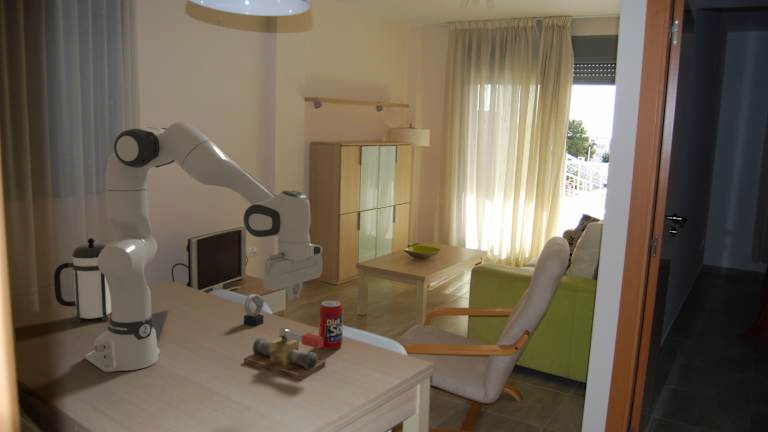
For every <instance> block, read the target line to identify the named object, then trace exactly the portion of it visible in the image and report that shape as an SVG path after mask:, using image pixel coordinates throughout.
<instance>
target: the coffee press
mask: <svg viewBox="0 0 768 432" xmlns="http://www.w3.org/2000/svg"><path fill="white" fill-rule="evenodd" d="M106 245H107V244H102V243H95V239H94V238H93V237H92V238H91V237H90V238H88V239H87V243H86V244H81V245H78V246H76V247H75V248H74V249H73V251H72V253H71V257H72V262H64V263H61V264H59V265H58V266H57V267H56V269H55V271H54V276H53V277H54V280H53V281H54V295H55V300H56V302H57V303H58V304H60V305H61V306H63V307H74V308H75V314H76V316H75V317H74V319H73V322H74V323H76V324H80V323H81V321H83V320H84V319H88V320H89V319H99V318H100V319H101V320H102V322H103V323H105V322H106V321H108V320H110V319H107V318H109V316H108V315H110V314H111V299H110V291H109V287H108V284H107V281H106V278H105V275H104V274H103V273H102V272H101V271H100V269H99V267H98V256H99V254H100V253H101V251H102V250H103V249H104V247H105V246H106ZM69 268H72V270H73V281H74V282H73V283H74V301H73V300H72V301H68V300H65V299H64V298H63V296H62V286H61V285H62V283H61V273H62V270H65V269H69ZM106 323H107V322H106Z"/></svg>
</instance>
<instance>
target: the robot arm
mask: <svg viewBox="0 0 768 432" xmlns="http://www.w3.org/2000/svg"><path fill="white" fill-rule="evenodd" d="M113 149H114V152H113V153H112V154H110V155H109V156H108V159H107V164H106V169H105V198H106V199H105V200H106V216H107V218H108V220H109V221H110V223H111V225H112V228H113V232H114V236H115V237H114V240H111V241H110V242H108V243H107V244H105V245H106V246H105V247H104V249H103V250H102V251H101V253H100V254H99V256H98V267H99V269H100V271H101V272H102V273H103V274H104V275H105V278H106V281H107V284H108V287H109V291H110V299H111V313H110V314H111V315H110V317H108V318H107V319H109V320H108V321H106V323H108V326H107V329H106V330H105V331H103V333H101V334H100V335H98V336H97V337H96V338H95V340H94V344H93V350H92V351H90V352H88V353H87V354H86V355H85V360H87V361H88V362H90V363H92V365H94V366H95V367H96V368H99V369H100V370H101V371H102V372H104V373H113V372H117V371H118V372H120V371H121V372H122V371H126V372H127V371H135V370H136V371H137V370H141V369H144V368H148V367H150V366H152V365H154V364H156V363H157V362H158V361H159V359H160V357H159V355H160V354H161V348H159V346H158V341H157V332H156V329H155V328H154V321H155V320H154V314H153V313H152V293H151V292H152V291H151V289H150V287H149V286H148V284H147V281H146V276H145V266H147V265H148V264H150V263H151V262H152V261H153V259H154V258H155V256H156V255H157V254H156V253H157V252H158V244H157V240H156V239H155V236H154V233H153V230H152V225H151V222H150V215H149V203H148V202H149V201H148V195H149V193H148V179H147V178H148V173H149V171H150V170H151V168H156V169H157V168H159V167H164V166H168V165H171V164H173V163H176V164H177V165H179V166H180V168H182V170H184V172H185V173H187V175H189V176H190V177H191V178H192V179H194V180H196V181H197V182H199V183H201V184H203V185H208V186H217V187H220V188H221V187H222V188H227V189H229V190H232V191H234V192H236V193H237V194H239V195H240V196H241V197H242V198H244V199H245V200H246V201H247V202H248V203H249V204H251V205H250V206H249V207H247V209H245V211H244V213H243V219H242V221H243V225H244V228H245V230H246V231H247V232H248V233H249V234H250V235H251V236H253V237H256V238H266V237H271V236H274V237H275V236H276V237H277V253H276V254H272V255H269V257H268V258H267V259H266V261H265V265H264V270H263V279H262V286H263V288H264V289H265V290H268V291H271V292H272V291H273V292H275V291H278V290H281V289H284V290H285V291H286V294H287V300H288V301H294V300H298V299H300V293H301V290H302V287H304V286H303V285H304V284H303V283H304V282H308V281H312V280H315V279H318V278H320V277H321V275H322V274H323V257H322V255H321V254H322V253H323V246H321V245H318V244H315V243H314V244H313V243H311V236H310V228H311V222H312V221H311V218H312V217H311V204H310V200H309V197H308V196H307V195H306V194H304V193H302V192H299V191H295V190H282V191H281V192H280V193H278V194H275V193H273V192H272V191H270V190H269V189H268V188H266V187H265V185H263V184H262V183H261V182H260V181H259V180H257V179H256V178H255V177H254V176H252V175H251V173H248V172H247V171H246V170H245V169H243V168H242V167H241V166H240V165H238V163H236V161H233V160H232V159H231V158H230V156H228V155H227V154H226V153H225V152H224V151H223V150H221V149H220V147H219V146H217V145H216V143H214V142H213V140H211V139H210V138H209V137H208V136H207V135H205V134H204V133H202V132H201V131H200V130H199V129H197V128H196V127H194V126H193V125H192V124H190V123H188V122H185V121H176V122H174V123H172V124H170V125H169V126H168V127H167V128H165V127H153V126H152V127H150V126H149V127H143V128H129V129H127V130H124V131H122V132H121V133H119V134H118V135H117V136H116V138H115V140H114V143H113Z"/></svg>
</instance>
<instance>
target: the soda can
mask: <svg viewBox="0 0 768 432" xmlns="http://www.w3.org/2000/svg"><path fill="white" fill-rule="evenodd" d="M320 304H321V305H320V306H319V308H318V336H320V337H323V338H324V342H323V346H322V347H321V348H323V349H324V350H336V349H338V348H340V347H341V346H342V345H343V330H344V328H343V327H344V326H343V323H344V322H343V321H344V317H343V316H344V307H343V306H342V302H340V301H339V300H325V301H322V302H321V303H320Z"/></svg>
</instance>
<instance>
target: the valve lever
mask: <svg viewBox="0 0 768 432" xmlns="http://www.w3.org/2000/svg"><path fill="white" fill-rule="evenodd" d="M278 336H279V338H290V339H293V340H297V341H299V342H301V345H305V346H307V347H311V348H315V349H320V348H322V346H323V342H324V338H323V337H320V336H319V335H315V334H312V333H308V332H306V333H301V332H298V331H294V330H291V328H289V327H280V328H279V329H278Z"/></svg>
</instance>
